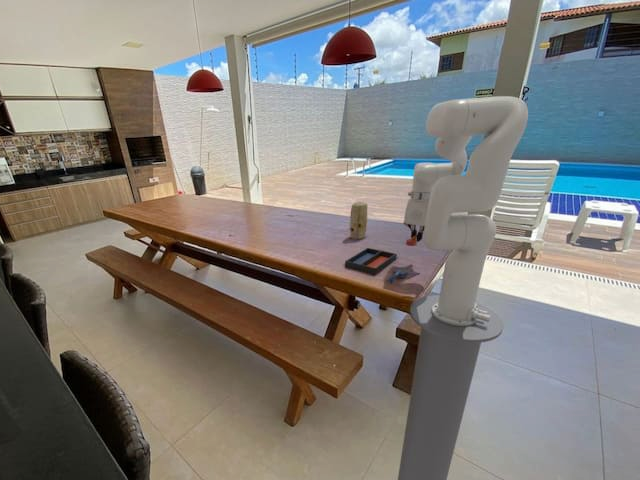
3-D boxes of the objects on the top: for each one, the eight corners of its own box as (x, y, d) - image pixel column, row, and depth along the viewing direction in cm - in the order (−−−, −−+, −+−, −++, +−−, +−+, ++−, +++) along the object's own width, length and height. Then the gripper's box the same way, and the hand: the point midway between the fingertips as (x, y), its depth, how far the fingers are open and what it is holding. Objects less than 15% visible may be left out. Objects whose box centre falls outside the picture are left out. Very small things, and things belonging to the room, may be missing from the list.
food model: (361, 235, 169) (363, 199, 161) (369, 239, 164) (372, 202, 155) (346, 239, 166) (348, 202, 157) (353, 242, 160) (355, 205, 152)
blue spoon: (407, 275, 122) (407, 269, 121) (395, 285, 114) (395, 279, 113) (397, 272, 124) (397, 266, 123) (385, 282, 117) (385, 276, 116)
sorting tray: (396, 259, 137) (396, 253, 135) (375, 275, 123) (375, 268, 122) (367, 253, 145) (367, 247, 144) (345, 267, 132) (345, 261, 131)
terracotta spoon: (404, 244, 124) (405, 238, 123) (414, 238, 131) (415, 231, 130) (414, 246, 121) (415, 240, 120) (424, 239, 129) (425, 233, 128)
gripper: (398, 195, 123) (394, 239, 130) (439, 199, 113) (432, 246, 120) (405, 193, 128) (401, 235, 135) (446, 195, 118) (439, 241, 125)
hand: (416, 240), depth 127 cm, fingers closed on terracotta spoon, 1 cm apart
